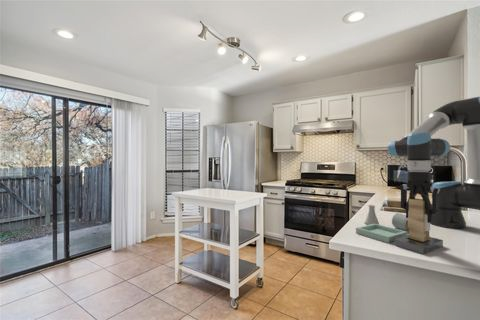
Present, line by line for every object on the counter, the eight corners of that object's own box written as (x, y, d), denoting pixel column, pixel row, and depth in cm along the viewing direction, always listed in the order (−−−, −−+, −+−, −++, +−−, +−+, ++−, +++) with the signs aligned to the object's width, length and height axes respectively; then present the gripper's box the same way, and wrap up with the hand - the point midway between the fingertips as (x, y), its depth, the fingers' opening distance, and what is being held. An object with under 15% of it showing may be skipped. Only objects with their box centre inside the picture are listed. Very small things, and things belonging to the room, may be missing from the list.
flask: (377, 222, 128) (377, 204, 128) (381, 226, 121) (381, 207, 121) (362, 221, 130) (362, 204, 130) (366, 225, 123) (366, 206, 123)
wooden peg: (415, 235, 97) (414, 198, 97) (429, 239, 93) (429, 199, 93) (408, 238, 95) (408, 199, 95) (423, 241, 91) (423, 201, 90)
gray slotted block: (414, 238, 102) (414, 232, 102) (442, 246, 93) (442, 239, 93) (394, 245, 94) (394, 238, 94) (423, 254, 86) (423, 247, 86)
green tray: (374, 228, 117) (374, 223, 117) (407, 237, 104) (407, 231, 104) (355, 233, 110) (355, 227, 110) (388, 243, 97) (388, 237, 97)
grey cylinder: (406, 233, 110) (406, 217, 110) (391, 228, 118) (391, 213, 117) (423, 231, 112) (424, 216, 112) (407, 227, 120) (407, 212, 120)
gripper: (390, 170, 100) (390, 224, 100) (442, 172, 84) (442, 236, 84) (399, 169, 103) (399, 221, 104) (451, 171, 88) (451, 233, 88)
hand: (418, 228), depth 94 cm, fingers closed on wooden peg, 5 cm apart
